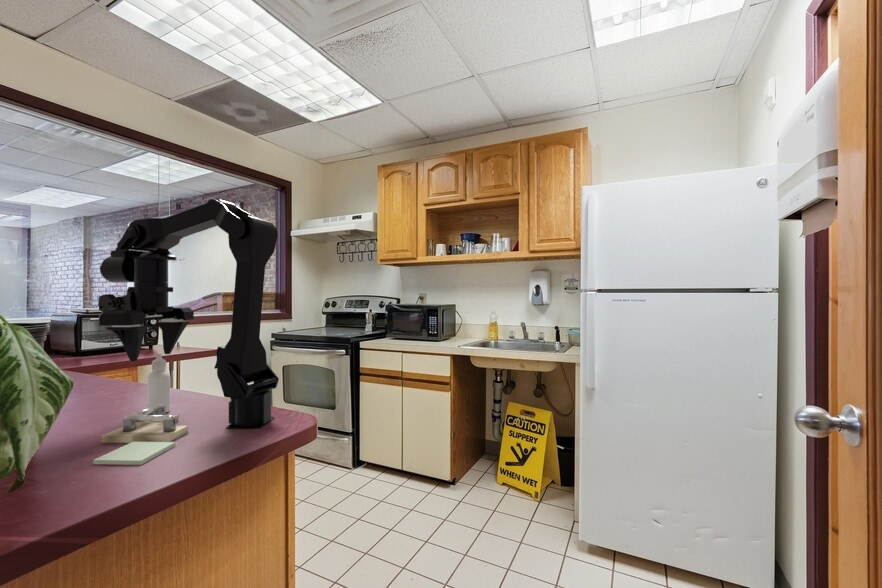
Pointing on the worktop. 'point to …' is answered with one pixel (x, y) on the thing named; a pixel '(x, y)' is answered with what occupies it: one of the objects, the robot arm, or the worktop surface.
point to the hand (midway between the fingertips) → (151, 357)
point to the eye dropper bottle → (158, 384)
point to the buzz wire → (147, 427)
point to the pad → (135, 453)
